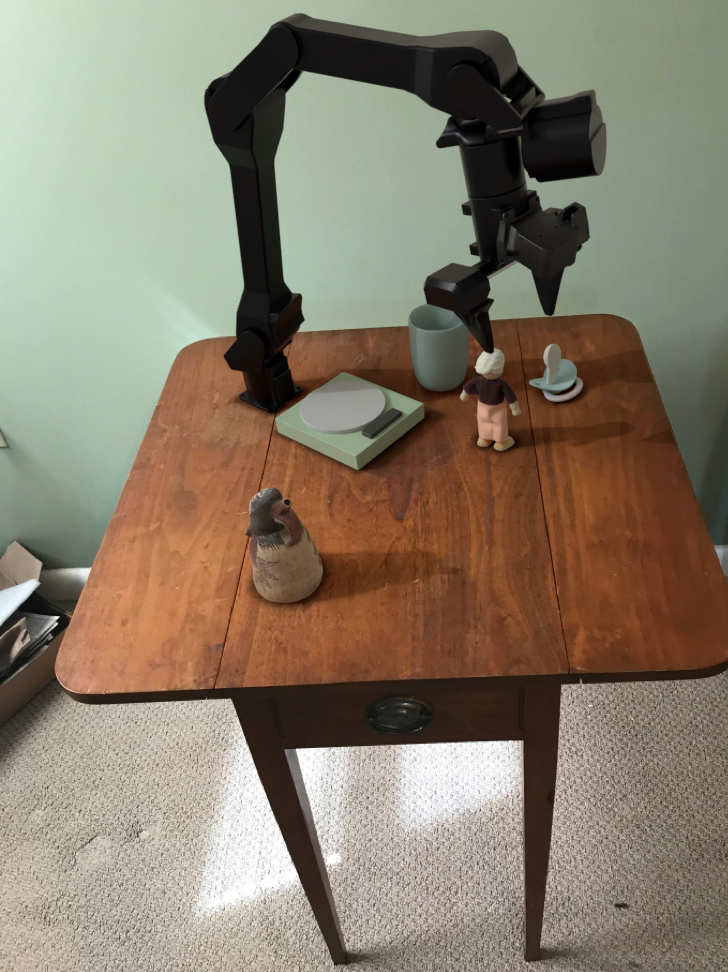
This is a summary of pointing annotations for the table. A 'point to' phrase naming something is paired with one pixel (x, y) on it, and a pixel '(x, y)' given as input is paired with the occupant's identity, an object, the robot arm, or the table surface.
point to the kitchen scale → (350, 419)
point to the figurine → (281, 550)
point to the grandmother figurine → (492, 400)
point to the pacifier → (557, 376)
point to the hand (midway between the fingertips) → (520, 333)
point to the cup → (438, 347)
